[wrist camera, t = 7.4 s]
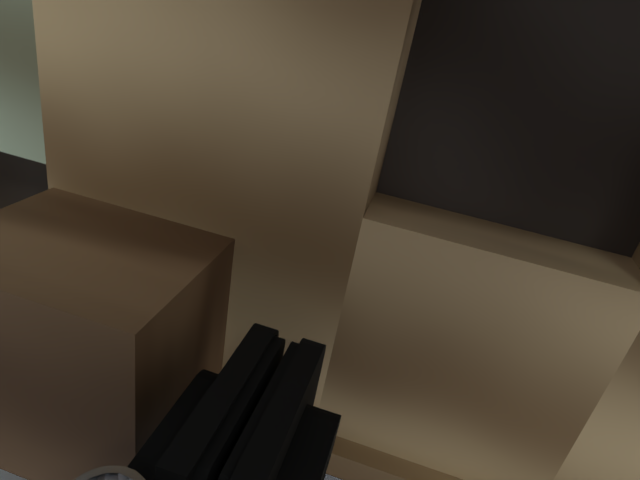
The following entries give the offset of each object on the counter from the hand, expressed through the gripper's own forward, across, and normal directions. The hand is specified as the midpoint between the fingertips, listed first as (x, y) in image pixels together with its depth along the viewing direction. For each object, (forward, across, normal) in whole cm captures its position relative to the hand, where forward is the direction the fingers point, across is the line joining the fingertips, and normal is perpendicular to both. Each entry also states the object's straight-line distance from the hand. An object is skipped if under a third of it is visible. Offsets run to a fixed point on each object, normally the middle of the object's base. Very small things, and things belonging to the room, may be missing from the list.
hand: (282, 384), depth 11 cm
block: (+2, +5, 0) cm, 5 cm away
